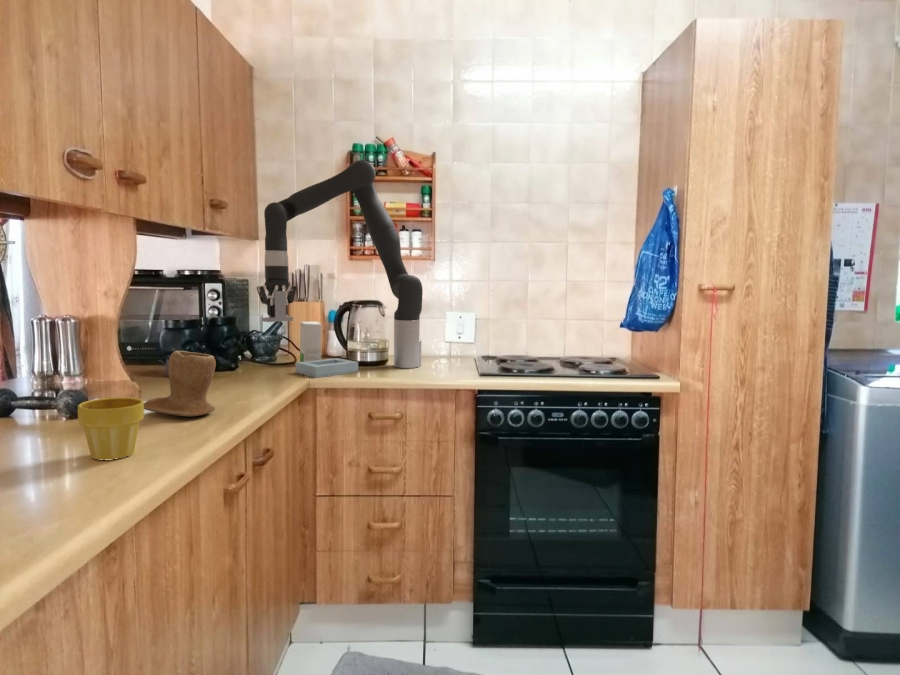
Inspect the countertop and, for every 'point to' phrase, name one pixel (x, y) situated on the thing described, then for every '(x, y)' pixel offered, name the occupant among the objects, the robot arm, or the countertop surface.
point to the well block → (326, 367)
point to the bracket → (279, 308)
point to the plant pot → (111, 425)
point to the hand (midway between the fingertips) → (277, 316)
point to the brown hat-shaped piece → (186, 385)
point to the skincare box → (310, 341)
